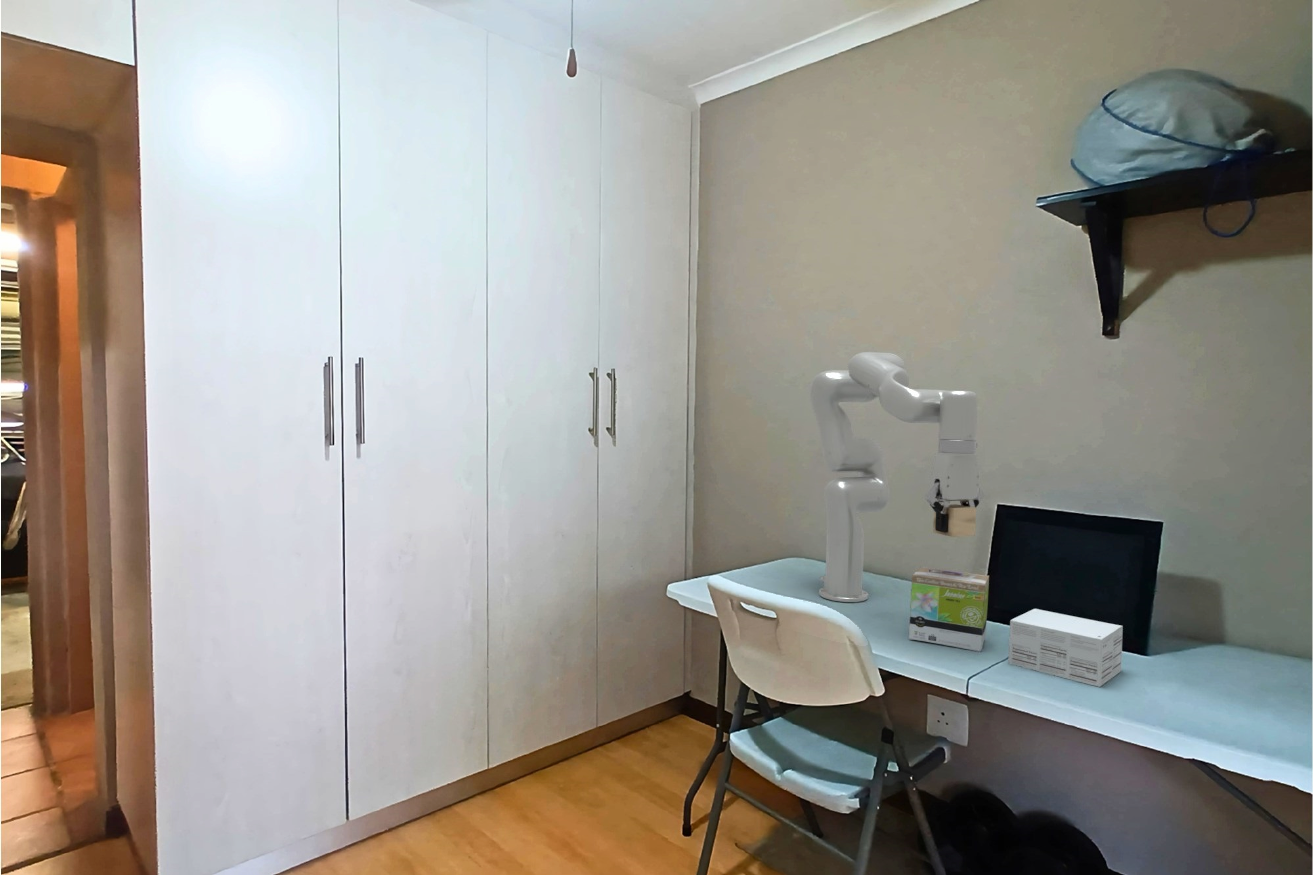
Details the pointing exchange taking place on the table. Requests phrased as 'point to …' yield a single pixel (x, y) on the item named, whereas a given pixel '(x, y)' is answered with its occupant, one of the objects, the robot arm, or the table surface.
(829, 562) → the robot arm
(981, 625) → the tea box
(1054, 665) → the supplement box
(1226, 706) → the table surface
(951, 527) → the oak block
